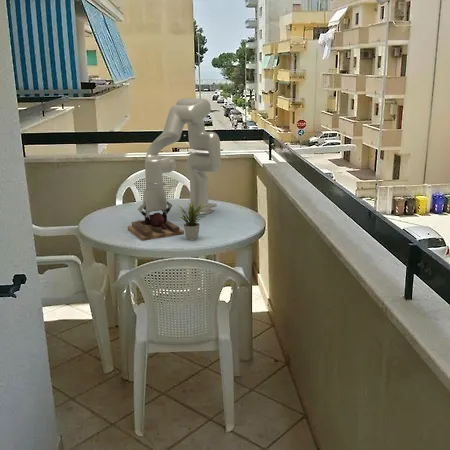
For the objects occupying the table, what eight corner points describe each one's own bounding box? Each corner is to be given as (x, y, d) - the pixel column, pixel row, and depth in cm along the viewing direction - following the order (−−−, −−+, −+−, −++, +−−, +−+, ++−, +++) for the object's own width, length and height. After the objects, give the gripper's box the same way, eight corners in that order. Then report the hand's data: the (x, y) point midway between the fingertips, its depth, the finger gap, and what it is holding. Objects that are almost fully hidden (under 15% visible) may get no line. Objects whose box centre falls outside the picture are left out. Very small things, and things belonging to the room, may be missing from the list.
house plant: (216, 239, 223) (216, 203, 218) (188, 245, 215) (187, 207, 211) (199, 232, 234) (199, 197, 230) (173, 236, 227) (171, 201, 222)
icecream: (140, 211, 234) (155, 221, 223) (154, 205, 238) (169, 215, 226) (144, 224, 238) (158, 235, 226) (157, 218, 241) (173, 228, 229)
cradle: (167, 223, 248) (166, 216, 247) (184, 234, 231) (183, 226, 230) (127, 229, 238) (127, 222, 237) (142, 240, 222) (141, 233, 221)
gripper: (169, 182, 235) (170, 219, 240) (133, 186, 227) (135, 224, 232) (175, 185, 229) (176, 223, 234) (138, 189, 221) (140, 228, 226)
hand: (156, 223), depth 233 cm, fingers closed on icecream, 7 cm apart
